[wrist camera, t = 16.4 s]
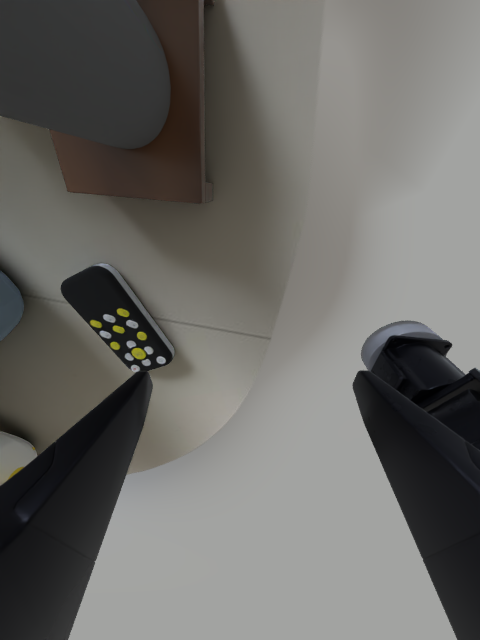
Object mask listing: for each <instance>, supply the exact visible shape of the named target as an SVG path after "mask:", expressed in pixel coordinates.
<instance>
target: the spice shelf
mask: <svg viewBox="0 0 480 640" xmlns="http://www.w3.org/2000/svg"><path fill="white" fill-rule="evenodd" d="M136 1H137V2H138V4H139V5H140V7H141V8H142V10H143V11H144V13H145V14H146V16H147V18H148V20H149V21H150V23H151V25H152V27H153V28H154V30H155V32H156V34H157V36H158V38H159V40H160V43H161V45H162V48H163V50H164V53H165V57H166V60H167V64H168V69H169V76H170V85H171V94H170V107H169V112H168V116H167V119H166V122H165V124H164V126H163V128H162V130H161V132H160V133H159V135H158V136H157V137H156V138H155V139H154V140H153V141H151V142H150V143H149V144H148V145H145V146H143V147H140V148H135V149H122V148H118V147H113V146H109V145H105V144H101V143H98V142H94V141H90V140H87V139H83V138H80V137H76V136H72V135H69V134H65V133H61V132H58V131H54V130H51V129H49V130H50V133H51V137H52V140H53V143H54V147H55V150H56V154H57V157H58V160H59V164H60V167H61V170H62V174H63V177H64V181H65V184H66V187H67V191H68V192H73V193H85V194H96V195H107V196H119V197H130V198H141V199H153V200H164V201H175V202H187V203H198V204H202V203H206V202H209V201H213V183H205V93H204V5H210V6H214V0H136Z"/></svg>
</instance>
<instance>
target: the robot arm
mask: <svg viewBox="0 0 480 640" xmlns="http://www.w3.org/2000/svg"><path fill="white" fill-rule="evenodd" d="M394 339H395V340H394ZM392 340H393V341H392ZM451 347H452V344H451V343H450V342H449V341H447V340H438V339H428V338H418V337H408V336H398V335H392V336H390V337H389V338H388V339H387V341H386V343H385V345H384V347H383V349H382V351H381V352H380V354H379V356H378V358H377V360H376V362H375V364H374V365H373V367H372V369H371V371H359V372H358V373H357V375H356V377H355V380H354V382H353V390H354V393H355V396H356V400H357V403H358V406H359V409H360V412H361V415H362V418H363V421H364V424H365V427H366V429H367V431H368V433H369V436H370V438H371V441H372V442H373V445H374V447H375V450H376V452H377V454H378V457H379V459H380V461H381V464H382V466H383V468H384V471H385V473H386V475H387V478H388V480H389V482H390V485H391V487H392V489H393V491H394V494H395V496H396V498H397V501H398V503H399V505H400V507H401V510H402V512H403V514H404V517H405V519H406V521H407V524H408V526H409V529H410V531H411V533H412V535H413V538H414V540H415V542H416V545H417V547H418V549H419V552H420V554H421V556H422V558H423V561H424V563H425V566H426V568H427V570H428V573H429V575H430V578H431V580H432V582H433V585H434V587H435V589H436V591H437V594H438V596H439V598H440V601H441V603H442V605H443V607H444V610H445V612H446V615H447V617H448V619H449V622H450V624H451V626H452V628H453V631H454V633H455V635H456V638H457V640H480V371H479V370H478V369H476V368H474V369H472V370H470V371H469V372H470V373H468V374H466V375H465V374H464V373H463V372H462V371H461V370H460V369H459V368H457V367H456V366H455V365H454V364H453V363H452V362H451V361H450V360H449V359H448V358H446V357H445V355H446V354H447V352H448V351H449V349H450V348H451ZM152 389H153V384H152V380H151V377H150V374H149V372H148V371H138V372H136V373H135V374H134V375H132V376H131V377H130V378H129V379H128V380H127V381H125V382H124V383H123V384H122V385H121V386H120V387H118V388H117V389H116V390H115V391H114V392H113V393H111V394H110V395H109V396H108V397H107V398H105V399H104V400H103V401H102V402H101V403H100V404H98V405H97V406H96V407H95V408H94V409H93V410H91V411H90V412H89V413H88V414H87V415H86V416H84V417H83V418H82V419H81V420H80V421H78V422H77V423H76V424H75V425H74V426H73V427H71V428H70V429H69V430H68V431H67V432H66V433H64V434H63V435H62V436H61V437H60V438H59V439H57V440H56V442H54V443H53V444H51V445H50V446H49V447H48V448H47V449H46V450H44V451H43V452H42V453H41V454H40V455H38V456H37V457H36V458H35V459H34V460H32V461H31V462H30V463H29V464H27V465H26V466H25V467H24V468H22V469H21V470H20V471H19V472H17V473H16V474H15V475H13V476H12V477H11V478H10V479H8V480H7V481H6V482H4V483H3V484H2V485H1V486H0V640H68V638H69V635H70V632H71V630H72V627H73V624H74V621H75V618H76V615H77V612H78V610H79V607H80V604H81V601H82V598H83V596H84V593H85V590H86V587H87V584H88V581H89V579H90V576H91V573H92V570H93V567H94V564H95V562H94V561H96V559H97V556H98V553H99V550H100V547H101V544H102V541H103V539H104V536H105V533H106V530H107V527H108V524H109V522H110V519H111V516H112V513H113V510H114V508H115V505H116V502H117V499H118V496H119V493H120V491H121V488H122V485H123V482H124V479H125V476H126V474H127V471H128V468H129V465H130V463H131V460H132V457H133V454H134V451H135V448H136V446H137V443H138V440H139V437H140V434H141V431H142V429H143V425H144V422H145V418H146V414H147V410H148V406H149V401H150V397H151V393H152Z"/></svg>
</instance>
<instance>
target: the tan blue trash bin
mask: <svg viewBox="0 0 480 640" xmlns="http://www.w3.org/2000/svg"><path fill="white" fill-rule="evenodd" d="M23 310H24V302H23V299H22V297H21V294H20V291H19V289H18V288H17V287H16V286H15V285H14V284H13V282H12V281H11V280H10V279H9V278H8V277H7V276H6V275H5V274H4V273H3V272H1V271H0V341H1V340H2V339H3V338H4V337H6V336H7V335H8V334H9V333H10V332H11V331H12V330H13V328H14V327H15V326H16V325H17V324H18V323H19V322H20V319H21V317H22V314H23Z"/></svg>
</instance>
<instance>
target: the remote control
mask: <svg viewBox="0 0 480 640" xmlns="http://www.w3.org/2000/svg"><path fill="white" fill-rule="evenodd" d="M61 292H62V295H63V296H64V298H65V299H66V300H67V301H68V302H69V303H70V305H71V306H72V307H73V308H74V309H75V310H76V311H77V312H78V313H79V314H80V316H81V317H82V318H83V319H84V320H85V321H86V322H87V323H88V324H89V325H90V327H91V328H92V329H93V330H94V331H95V332H96V333H97V334H98V335H99V336H100V337H101V339H102V340H103V341H104V342H105V343H106V344H107V345H108V346H109V347H110V348H111V350H112V351H113V352H114V353H115V354H116V355H117V356H118V357H119V358H120V359H121V361H122V362H123V363H124V364H125V365H126V366H127V367H128V368H129V369H130V370H132V371H134V372H138V371H149V370H153V369H156V368H159V367H162V366H165V365H168V364H169V363H170V362H171V361H172V359H173V357H174V354H175V351H174V348H173V346H172V345H171V343H170V342H169V341H168V339H167V338H166V337H165V335H164V334H163V332H162V331H161V330H160V328H159V327H158V326H157V324H156V323H155V321H154V320H153V319H152V317H151V316H150V315H149V313H148V312H147V311H146V309H145V308H144V306H143V305H142V304H141V302H140V301H139V300H138V298H137V297H136V296H135V294H134V293H133V291H132V290H131V289H130V287H129V286H128V285H127V283H126V282H125V280H124V279H123V278H122V276H121V275H120V274H119V272H118V271H117V270H116V269H115V268H113V267H112V266H110V265H108V264H103V263H99V264H96V265H93V266H91V267H89V268H87V269H85V270H83V271H81V272H79V273H77V274H75V275H73V276H71V277H69V278H67V279H66V280H65V281H63V283H62V285H61Z"/></svg>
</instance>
